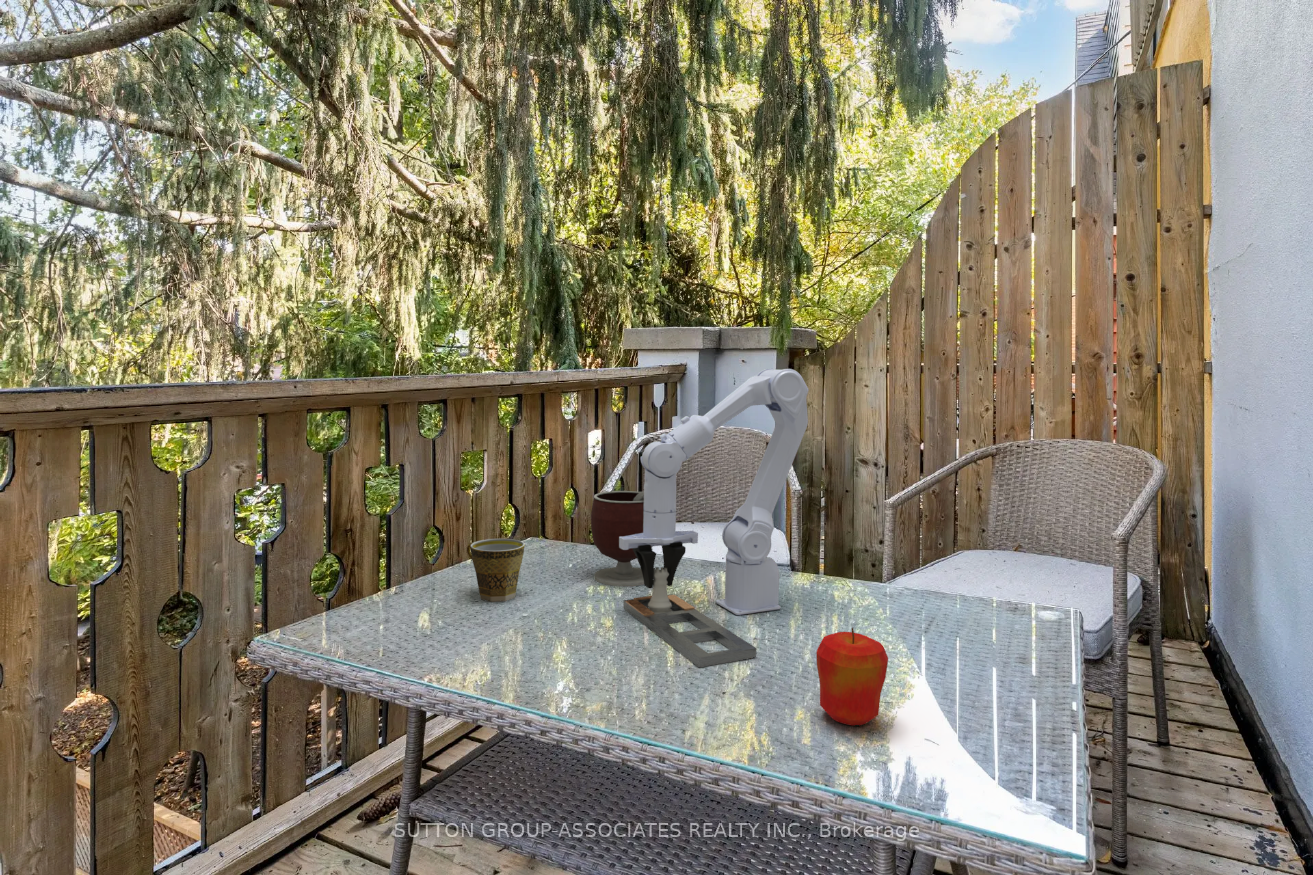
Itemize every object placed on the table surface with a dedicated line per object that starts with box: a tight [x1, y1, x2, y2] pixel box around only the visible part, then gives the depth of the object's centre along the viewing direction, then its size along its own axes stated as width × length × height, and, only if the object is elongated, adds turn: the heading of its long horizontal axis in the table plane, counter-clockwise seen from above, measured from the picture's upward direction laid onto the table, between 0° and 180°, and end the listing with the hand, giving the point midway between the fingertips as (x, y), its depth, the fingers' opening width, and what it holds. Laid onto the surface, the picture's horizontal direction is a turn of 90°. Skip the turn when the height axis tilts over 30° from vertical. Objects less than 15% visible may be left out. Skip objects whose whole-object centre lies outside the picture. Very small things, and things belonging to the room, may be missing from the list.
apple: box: [816, 627, 889, 726], centre depth 94 cm, size 9×8×12 cm
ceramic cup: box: [466, 538, 526, 603], centre depth 142 cm, size 13×10×10 cm
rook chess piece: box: [647, 566, 673, 614], centre depth 133 cm, size 4×4×8 cm
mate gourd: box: [590, 490, 654, 587], centre depth 154 cm, size 16×14×20 cm
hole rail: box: [622, 593, 757, 668], centre depth 125 cm, size 10×29×2 cm, turn 25°
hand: (658, 585), depth 134 cm, fingers closed on rook chess piece, 3 cm apart
